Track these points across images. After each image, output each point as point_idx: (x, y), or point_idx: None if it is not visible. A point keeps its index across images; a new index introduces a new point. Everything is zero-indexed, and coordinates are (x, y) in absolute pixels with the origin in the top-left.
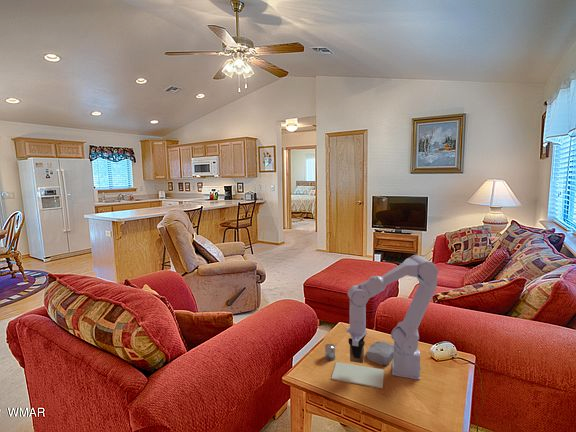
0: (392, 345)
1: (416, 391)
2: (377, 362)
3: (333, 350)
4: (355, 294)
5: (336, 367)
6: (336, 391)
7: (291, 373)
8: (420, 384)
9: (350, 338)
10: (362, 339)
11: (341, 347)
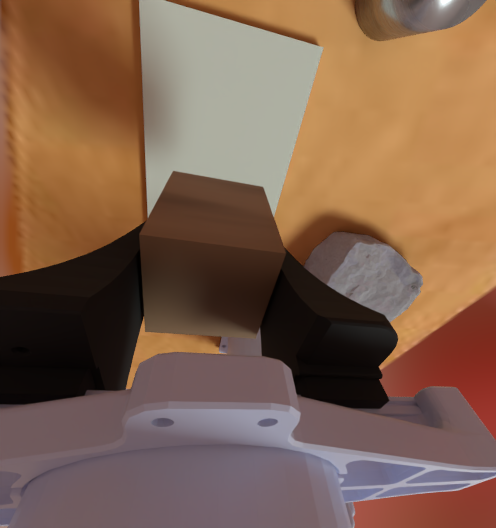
0: None
1: (168, 338)
2: (305, 263)
3: (399, 10)
4: None
5: (262, 47)
6: (32, 39)
7: None
8: (201, 347)
9: (77, 332)
10: (265, 343)
11: (476, 96)
